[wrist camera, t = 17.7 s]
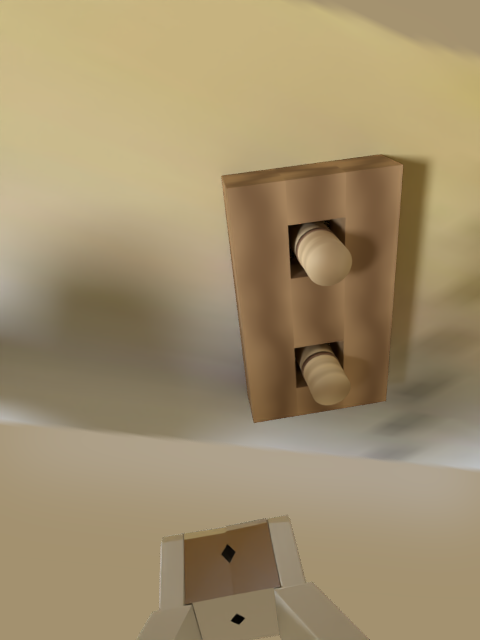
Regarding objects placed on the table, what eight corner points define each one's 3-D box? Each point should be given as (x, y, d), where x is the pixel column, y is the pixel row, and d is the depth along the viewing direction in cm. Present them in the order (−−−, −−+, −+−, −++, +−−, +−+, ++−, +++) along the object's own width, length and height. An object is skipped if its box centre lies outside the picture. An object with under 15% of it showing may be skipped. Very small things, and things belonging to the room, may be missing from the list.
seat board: (247, 395, 51) (253, 422, 47) (221, 175, 39) (226, 188, 35) (370, 375, 52) (386, 400, 48) (380, 154, 40) (403, 164, 36)
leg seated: (285, 253, 43) (306, 289, 37) (283, 214, 42) (305, 245, 35) (323, 247, 44) (352, 283, 37) (323, 209, 42) (353, 238, 35)
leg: (291, 327, 47) (314, 375, 41) (326, 325, 48) (354, 372, 41) (288, 356, 49) (309, 407, 42) (321, 354, 50) (347, 404, 43)
